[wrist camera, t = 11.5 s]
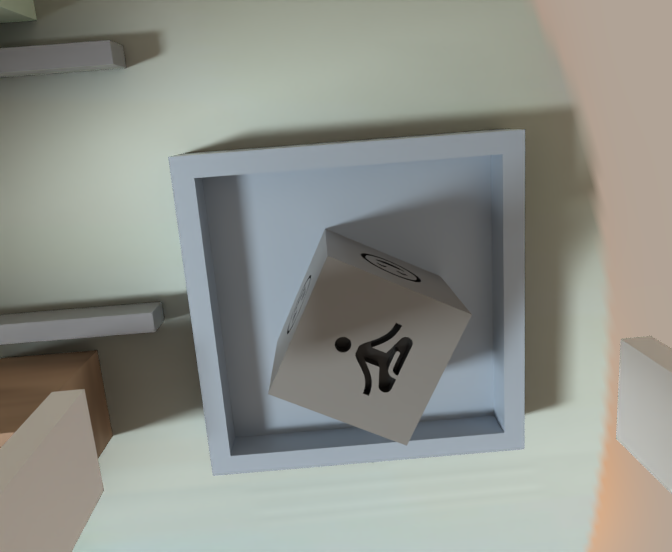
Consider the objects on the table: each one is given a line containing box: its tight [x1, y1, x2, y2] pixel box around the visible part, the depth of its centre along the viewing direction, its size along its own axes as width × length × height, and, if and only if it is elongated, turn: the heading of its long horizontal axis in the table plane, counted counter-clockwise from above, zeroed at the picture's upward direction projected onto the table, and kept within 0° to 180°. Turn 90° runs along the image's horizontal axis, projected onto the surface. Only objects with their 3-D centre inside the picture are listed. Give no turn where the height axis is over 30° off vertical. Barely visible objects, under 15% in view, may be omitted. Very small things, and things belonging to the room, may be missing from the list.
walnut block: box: [0, 350, 113, 458], centre depth 23 cm, size 4×4×7 cm
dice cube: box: [268, 229, 472, 446], centre depth 22 cm, size 5×5×5 cm
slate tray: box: [168, 129, 525, 476], centre depth 24 cm, size 13×13×2 cm
